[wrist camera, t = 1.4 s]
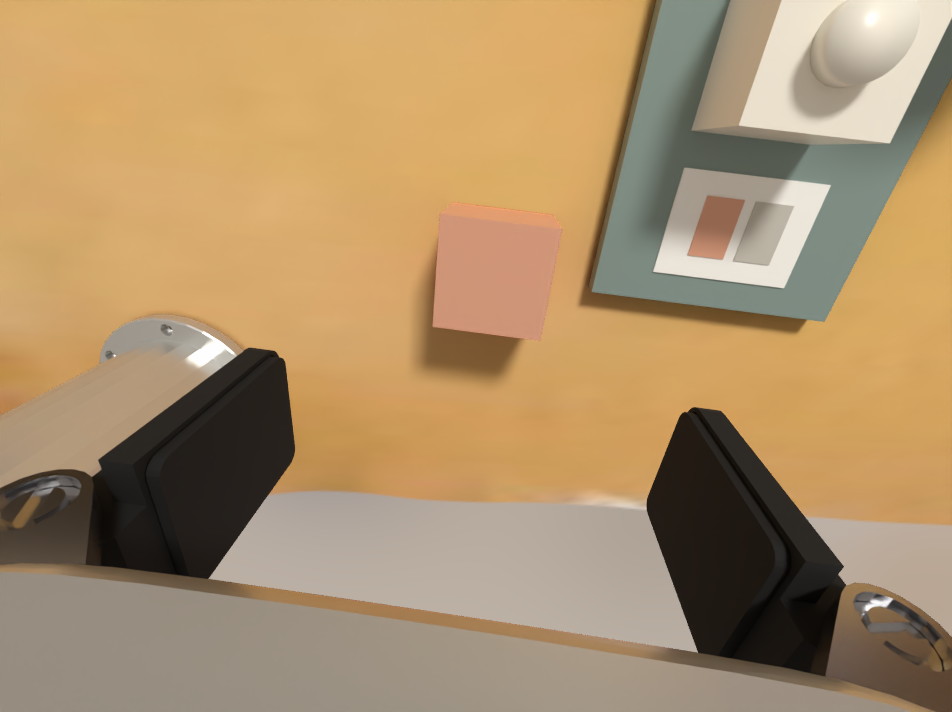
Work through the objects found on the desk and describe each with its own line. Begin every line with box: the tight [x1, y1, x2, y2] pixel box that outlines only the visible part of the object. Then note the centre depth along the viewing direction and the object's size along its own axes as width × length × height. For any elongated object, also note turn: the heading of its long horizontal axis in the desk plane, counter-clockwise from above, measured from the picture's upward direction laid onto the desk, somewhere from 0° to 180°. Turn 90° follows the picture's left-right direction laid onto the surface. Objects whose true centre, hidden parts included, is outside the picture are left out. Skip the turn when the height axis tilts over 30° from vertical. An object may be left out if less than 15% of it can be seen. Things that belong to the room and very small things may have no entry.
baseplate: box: [589, 0, 952, 322], centre depth 19 cm, size 16×14×7 cm
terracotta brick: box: [433, 202, 562, 341], centre depth 24 cm, size 6×6×5 cm
